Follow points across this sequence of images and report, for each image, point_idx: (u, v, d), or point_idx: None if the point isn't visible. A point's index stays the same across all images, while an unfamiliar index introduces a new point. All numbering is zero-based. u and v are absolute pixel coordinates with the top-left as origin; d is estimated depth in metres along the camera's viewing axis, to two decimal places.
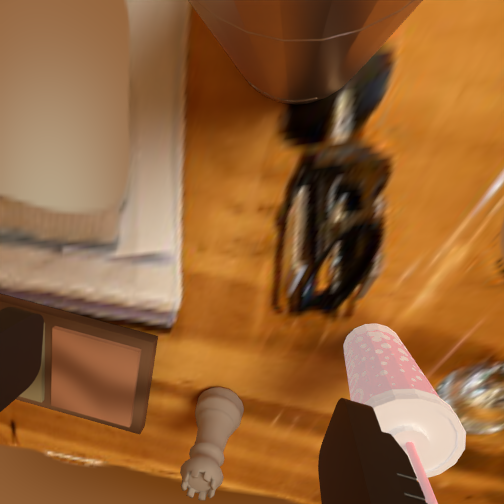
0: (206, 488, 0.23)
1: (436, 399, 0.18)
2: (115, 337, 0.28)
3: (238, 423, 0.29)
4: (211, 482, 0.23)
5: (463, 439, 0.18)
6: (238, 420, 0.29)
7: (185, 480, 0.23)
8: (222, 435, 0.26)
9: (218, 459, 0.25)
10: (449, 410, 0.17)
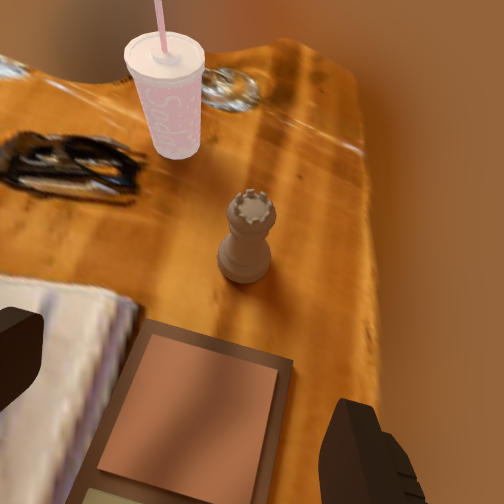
0: (259, 202, 0.21)
1: None
2: (131, 368, 0.21)
3: None
4: (247, 194, 0.21)
5: None
6: None
7: (243, 215, 0.20)
8: None
9: None
10: (138, 37, 0.26)
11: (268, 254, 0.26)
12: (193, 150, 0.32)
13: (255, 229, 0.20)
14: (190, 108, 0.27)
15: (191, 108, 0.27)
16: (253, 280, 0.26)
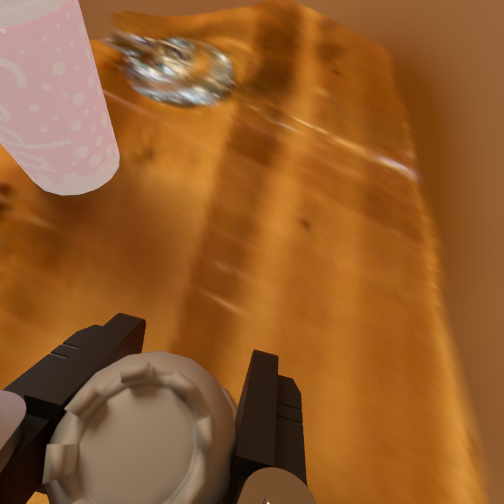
0: (167, 413, 0.05)
1: None
2: None
3: None
4: (124, 381, 0.06)
5: None
6: None
7: None
8: None
9: None
10: None
11: None
12: (101, 177, 0.17)
13: None
14: (60, 92, 0.12)
15: (62, 91, 0.12)
16: None
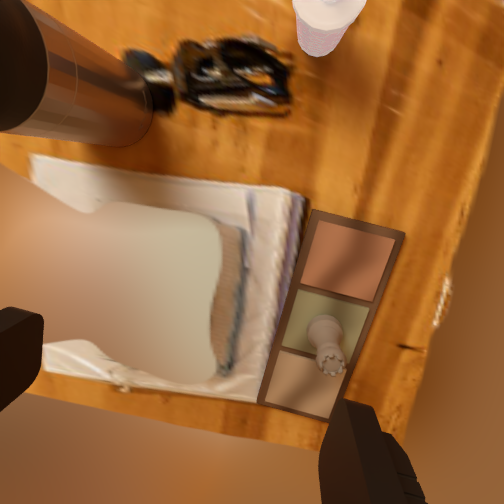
0: (336, 360, 0.33)
1: None
2: (309, 238, 0.39)
3: (328, 322, 0.39)
4: (329, 356, 0.33)
5: None
6: (326, 321, 0.39)
7: (326, 373, 0.33)
8: (321, 338, 0.37)
9: (326, 346, 0.35)
10: None
11: (341, 339, 0.39)
12: (336, 44, 0.34)
13: None
14: (346, 28, 0.29)
15: (347, 27, 0.29)
16: None
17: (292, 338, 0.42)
